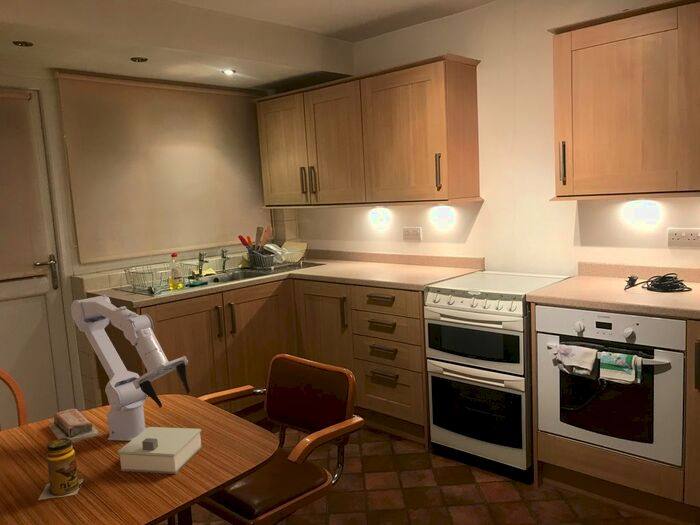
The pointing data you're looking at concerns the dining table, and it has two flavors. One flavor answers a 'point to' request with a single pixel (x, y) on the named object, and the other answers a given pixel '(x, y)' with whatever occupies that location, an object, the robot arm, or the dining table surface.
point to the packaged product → (72, 426)
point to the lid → (160, 441)
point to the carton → (160, 460)
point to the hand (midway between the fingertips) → (174, 399)
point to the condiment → (61, 470)
